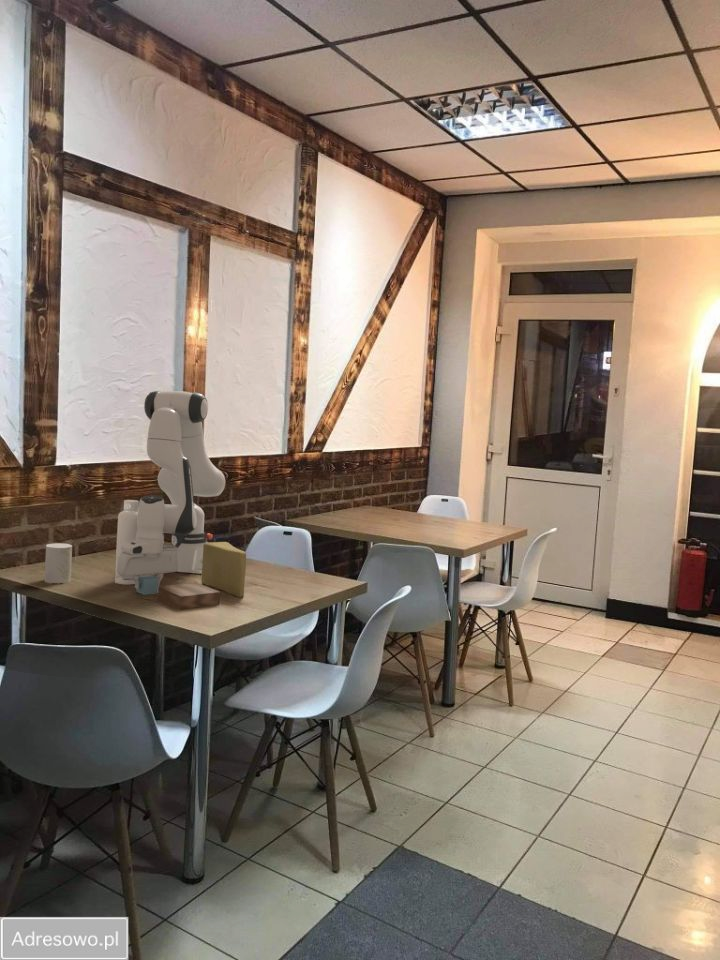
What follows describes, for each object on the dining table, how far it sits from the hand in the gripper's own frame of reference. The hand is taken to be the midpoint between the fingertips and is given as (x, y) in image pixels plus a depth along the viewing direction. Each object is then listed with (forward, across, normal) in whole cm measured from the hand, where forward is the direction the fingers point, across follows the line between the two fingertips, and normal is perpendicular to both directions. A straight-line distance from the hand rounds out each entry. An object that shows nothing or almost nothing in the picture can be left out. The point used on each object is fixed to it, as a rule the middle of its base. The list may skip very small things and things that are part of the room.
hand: (147, 587), depth 259 cm
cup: (+2, +19, -26) cm, 32 cm away
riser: (+2, -6, +16) cm, 17 cm away
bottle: (+2, -1, -16) cm, 16 cm away
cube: (+2, 0, 0) cm, 2 cm away
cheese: (+2, -26, +8) cm, 27 cm away
